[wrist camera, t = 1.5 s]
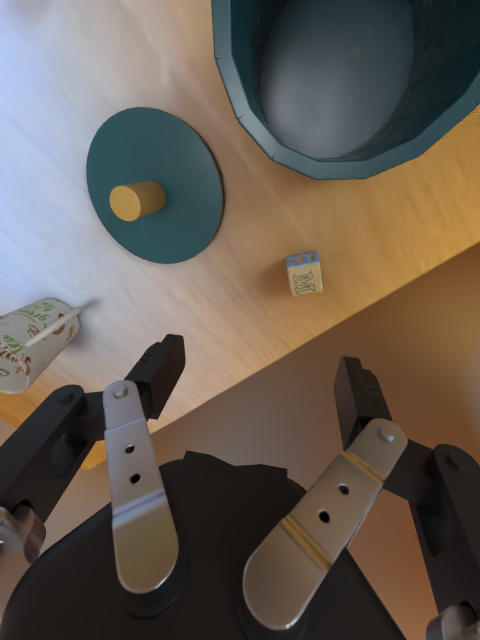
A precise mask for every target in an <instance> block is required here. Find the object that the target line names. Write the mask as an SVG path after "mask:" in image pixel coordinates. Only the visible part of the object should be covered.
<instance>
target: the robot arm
mask: <svg viewBox="0 0 480 640" xmlns="http://www.w3.org/2000/svg"><path fill="white" fill-rule="evenodd" d="M185 361H186V359H185V348H184V339H183V336H181V335H173V334H167V335H166V337H165V338H164V339H163V341H162V342H161V343H160V342H156V343H155V344H153V345H152V346H150V347H149V348H148V349H147V350H146V352H145V353H144V355H142V357H141V358H140V359H139V361H138V362H137V363H136V365H135V366H134V367H133V368H132V370H131V371H130V372H129V374H128V375H127V376H126V378H125V379H124V380H120V381H117V382H114V383H112V384H110V385H109V386H108V387H107V388H106V389H105V390H104V391H101V392H92V393H84V390H83V388H82V387H81V386H79V385H66V386H63V387H60V388H58V389H57V390H55V391H53V392H52V393H51V394H50V395H49V396H48V397H47V398H46V399H45V400H44V401H43V402H42V403H41V404H40V406H39V407H38V408H37V409H36V410H35V411H34V412H33V413H32V414H31V415H30V416H29V417H28V418H27V419H26V420H25V421H24V422H23V423H22V425H21V426H20V427H19V428H18V429H17V430H16V431H15V432H14V433H13V434H12V435H11V436H10V437H9V438H8V439H7V440H6V442H4V444H3V445H2V446H1V447H0V640H407V639H406V638H405V636H404V635H403V633H402V632H401V630H400V629H399V627H398V626H397V624H396V623H395V621H394V620H393V618H392V617H391V615H390V613H389V612H388V610H387V609H386V607H385V606H384V605H383V603H382V602H381V600H380V598H379V597H378V595H377V594H376V592H375V591H374V589H373V588H372V586H371V585H370V583H369V582H368V580H367V579H366V577H365V576H364V574H363V572H362V571H361V569H360V568H359V567H358V565H357V564H356V562H355V561H354V559H353V557H352V556H351V554H350V553H349V551H348V550H347V548H348V546H349V544H350V543H351V541H352V540H353V538H354V536H355V534H356V533H357V531H358V529H359V528H360V526H361V524H362V522H363V521H364V519H365V517H366V516H367V514H368V513H369V511H370V509H371V508H372V506H373V504H374V503H375V501H376V499H377V498H378V496H379V494H380V493H381V491H382V489H386V490H388V491H390V492H392V493H394V494H396V495H398V496H400V497H402V498H404V499H406V500H408V502H409V505H410V509H411V513H412V517H413V521H414V524H415V528H416V531H417V536H418V539H419V543H420V546H421V550H422V554H423V558H424V562H425V565H426V569H427V573H428V576H429V580H430V583H431V588H432V591H433V595H434V599H435V603H436V606H437V610H438V615H437V616H436V617H434V618H433V619H432V620H431V621H430V622H429V623H428V626H427V629H426V640H480V467H479V465H478V463H477V462H476V461H475V460H474V459H473V458H472V457H471V456H470V455H469V454H468V453H466V452H465V451H463V450H462V449H460V448H458V447H455V446H453V445H449V444H439V445H437V446H436V447H435V448H434V450H433V449H431V448H428V447H426V446H423V445H421V444H418V443H416V442H414V441H412V440H410V439H408V438H407V436H406V434H405V433H404V431H403V430H402V429H401V428H400V427H399V426H398V425H397V424H395V423H393V421H392V418H391V415H390V413H389V410H388V407H387V404H386V402H385V399H384V396H383V393H382V391H381V389H380V385H379V382H378V380H377V378H376V377H375V375H374V374H373V373H372V372H371V371H370V370H366V369H362V366H361V362H360V360H359V358H355V357H347V356H342V357H341V359H340V363H339V366H338V370H337V374H336V377H335V381H334V394H335V401H336V406H337V413H338V419H339V425H340V431H341V438H342V444H343V450H342V451H341V452H340V453H339V454H338V455H337V456H336V458H335V459H334V460H333V461H332V463H331V464H330V465H329V466H328V467H327V469H326V470H325V471H324V472H323V473H322V475H321V476H320V477H319V478H318V479H317V481H316V482H315V483H314V484H313V485H312V487H311V488H310V489H309V490H308V491H306V490H305V489H304V488H303V487H302V486H300V485H299V484H298V483H296V482H294V481H293V480H291V479H289V478H287V469H285V468H279V467H274V466H268V465H263V464H258V465H244V466H233V465H231V464H229V463H226V462H224V461H222V460H220V459H218V458H216V457H214V456H212V455H208V454H202V453H197V452H192V451H186V453H185V456H184V459H177V460H173V461H170V462H167V463H165V464H162V465H161V466H159V467H158V463H157V459H156V456H155V452H154V448H153V444H152V441H151V437H150V433H149V429H148V426H147V421H148V419H149V418H150V419H156V420H157V419H158V418H159V416H160V414H161V412H162V410H163V408H164V406H165V404H166V402H167V400H168V399H169V397H170V395H171V393H172V391H173V389H174V387H175V385H176V383H177V381H178V380H179V378H180V376H181V374H182V372H183V370H184V367H185ZM101 440H105V446H106V456H107V465H108V474H109V484H110V494H111V502H110V503H109V504H107V505H106V506H105V507H103V508H102V509H101V510H99V511H98V512H96V513H95V514H94V515H92V516H91V517H90V518H88V519H87V520H86V521H84V522H83V523H82V524H80V525H79V526H78V527H76V528H75V529H74V530H72V531H71V532H70V533H68V534H67V535H66V536H64V537H63V538H62V539H60V540H59V541H58V542H56V543H55V544H54V545H52V546H51V547H50V548H48V549H47V550H46V551H45V552H44V553H42V554H41V555H40V556H39V554H40V549H41V547H42V545H43V543H44V540H45V537H46V529H45V526H44V523H45V522H46V520H47V518H48V517H49V515H50V514H51V512H52V510H53V509H54V507H55V505H56V504H57V502H58V501H59V499H60V498H61V496H62V495H63V493H64V491H65V490H66V488H67V486H68V485H69V483H70V482H71V480H72V479H73V477H74V476H75V474H76V472H77V471H78V469H79V468H80V466H81V464H82V463H83V461H84V460H85V458H86V456H87V455H88V453H89V452H90V450H91V449H92V447H93V445H94V444H95V442H96V441H101ZM38 556H39V557H38Z"/></svg>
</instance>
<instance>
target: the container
mask: <svg viewBox="0 0 480 640" xmlns="http://www.w3.org/2000/svg"><path fill="white" fill-rule="evenodd" d="M211 6H212V23H213V40H214V57H215V60H216V65H217V68H218V70H219V73H220V76H221V78H222V81H223V84H224V87H225V89H226V92H227V95H228V98H229V100H230V103H231V106H232V108H233V111H234V114H235V117H236V119H237V120H238V122H239V124H240V125H241V126H242V127H243V128H244V129H245V130H246V132H247V133H248V134H249V135H250V136H251V137H252V139H253V140H254V141H255V142H256V143H257V144H258V145H259V147H260V148H261V149H262V150H263V151H264V152H265V154H266V155H267V156H268V157H269V158H270V159H272V161H274V162H276V163H278V164H280V165H283V166H285V167H287V168H289V169H292V170H294V171H296V172H298V173H300V174H303V175H305V176H307V177H309V178H312V179H315V180H345V179H365V178H366V179H367V178H369V177H372V176H374V175H376V174H379V173H381V172H383V171H386V170H388V169H390V168H393V167H395V166H397V165H400V164H402V163H405V162H407V161H409V160H412V159H414V158H416V157H419V156H420V155H421V154H423V153H424V152H425V151H427V150H428V149H429V148H430V147H431V146H432V145H434V144H435V143H436V142H437V141H438V140H439V139H441V138H442V137H443V136H444V135H445V134H446V133H448V132H449V131H450V130H451V129H452V128H453V127H455V126H456V125H457V124H458V123H459V122H460V121H462V120H463V119H464V118H465V117H466V116H467V115H468V114H470V113H471V112H472V111H473V110H474V109H475V108H476V107H477V105H479V104H480V0H211Z"/></svg>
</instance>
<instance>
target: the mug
mask: <svg viewBox="0 0 480 640" xmlns="http://www.w3.org/2000/svg"><path fill="white" fill-rule="evenodd" d="M81 312H82V309H81V308H80V307H77V308H75V309H73V310H72V309H71V308H70V307H69V306H67V305H66V304H65V303H63V302H61V301H59V300H56V299H44V300H41V301H38V302H36V303H33V304H31V305H28V306H26V307H23V308H20V309H18V310H15V311H13V312H10V313H8V314H5V315H3V316H0V392H3V393H9V394H17V393H21V392H23V391H25V390H26V389H27V388H28V387H29V386H30V385H31V384H32V383H33V382H34V381H35V380H36V379H37V378H38V377H39V376H40V374H41V373H42V372H43V371H44V370H45V369H46V368H47V367H48V366H49V364H50V363H51V362H52V361H53V360H54V359H55V358H56V357H57V355H58V354H59V353H60V352H61V351H62V350H63V349H64V348H65V347H66V345H67V344H68V343H69V342H70V341H71V340H72V339H73V338H74V336H75V335H76V334H77V333H78V331H79V328H80V324H79V320H78V317H77V315H79V314H80V313H81Z"/></svg>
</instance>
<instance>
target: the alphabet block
mask: <svg viewBox="0 0 480 640" xmlns="http://www.w3.org/2000/svg"><path fill="white" fill-rule="evenodd" d="M286 270H287V276H288V281H289V287H290V293H291V296H298V295H305V294H311V293H316V292H322V290H323V289H322V281H321V272H320V261H319V258H318V255H317V252H309V253H305V254H300V255H295V256H290V257H287V258H286Z"/></svg>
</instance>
